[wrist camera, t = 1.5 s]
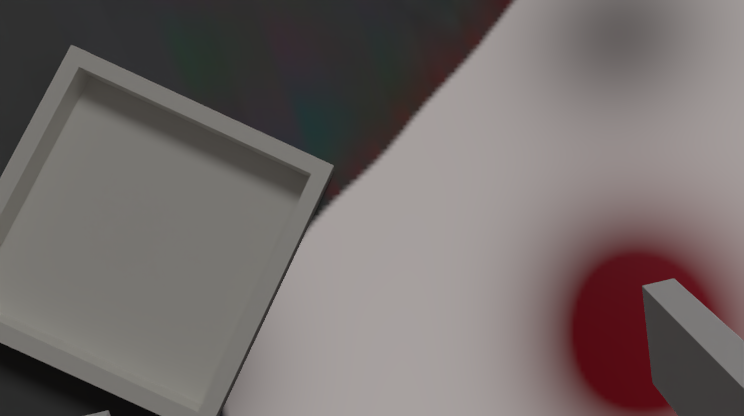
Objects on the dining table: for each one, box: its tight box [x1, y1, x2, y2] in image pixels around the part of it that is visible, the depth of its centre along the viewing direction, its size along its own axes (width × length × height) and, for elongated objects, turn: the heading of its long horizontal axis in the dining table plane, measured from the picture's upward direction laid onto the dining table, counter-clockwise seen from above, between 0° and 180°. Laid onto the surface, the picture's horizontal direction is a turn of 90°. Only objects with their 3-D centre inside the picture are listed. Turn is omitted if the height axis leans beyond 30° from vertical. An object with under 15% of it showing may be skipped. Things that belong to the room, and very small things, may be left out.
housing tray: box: [0, 45, 334, 416], centre depth 40 cm, size 17×17×2 cm
